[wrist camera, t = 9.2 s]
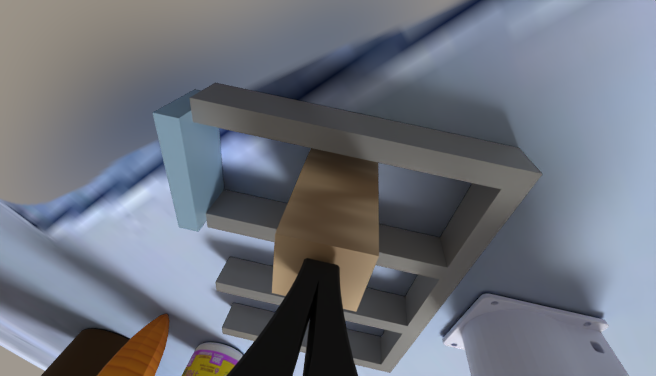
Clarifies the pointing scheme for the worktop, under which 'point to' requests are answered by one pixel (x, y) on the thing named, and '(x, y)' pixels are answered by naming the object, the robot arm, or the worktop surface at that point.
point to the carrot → (140, 351)
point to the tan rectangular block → (331, 223)
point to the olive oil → (87, 354)
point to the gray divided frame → (394, 244)
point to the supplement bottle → (212, 360)
